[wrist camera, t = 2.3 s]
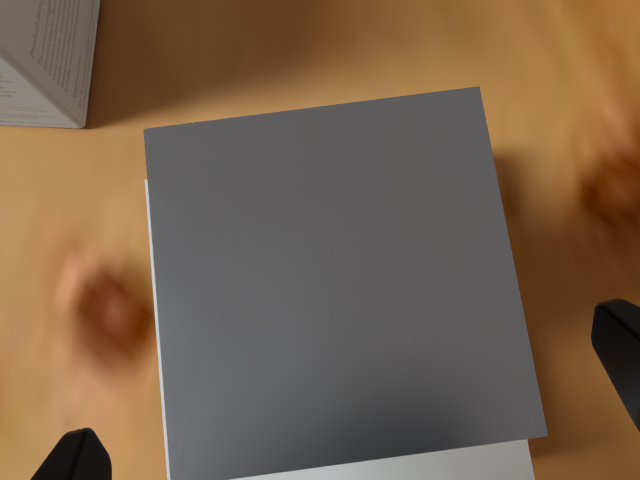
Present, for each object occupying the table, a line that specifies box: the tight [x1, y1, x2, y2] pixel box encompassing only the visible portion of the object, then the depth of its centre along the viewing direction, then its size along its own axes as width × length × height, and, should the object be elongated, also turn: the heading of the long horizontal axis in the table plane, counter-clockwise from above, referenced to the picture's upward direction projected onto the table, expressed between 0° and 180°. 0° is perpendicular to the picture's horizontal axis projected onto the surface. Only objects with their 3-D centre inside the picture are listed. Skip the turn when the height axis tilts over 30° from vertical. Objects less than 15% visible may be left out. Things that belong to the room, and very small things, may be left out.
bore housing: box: [145, 180, 535, 480], centre depth 18 cm, size 10×10×2 cm
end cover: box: [144, 87, 548, 480], centre depth 13 cm, size 6×6×13 cm
